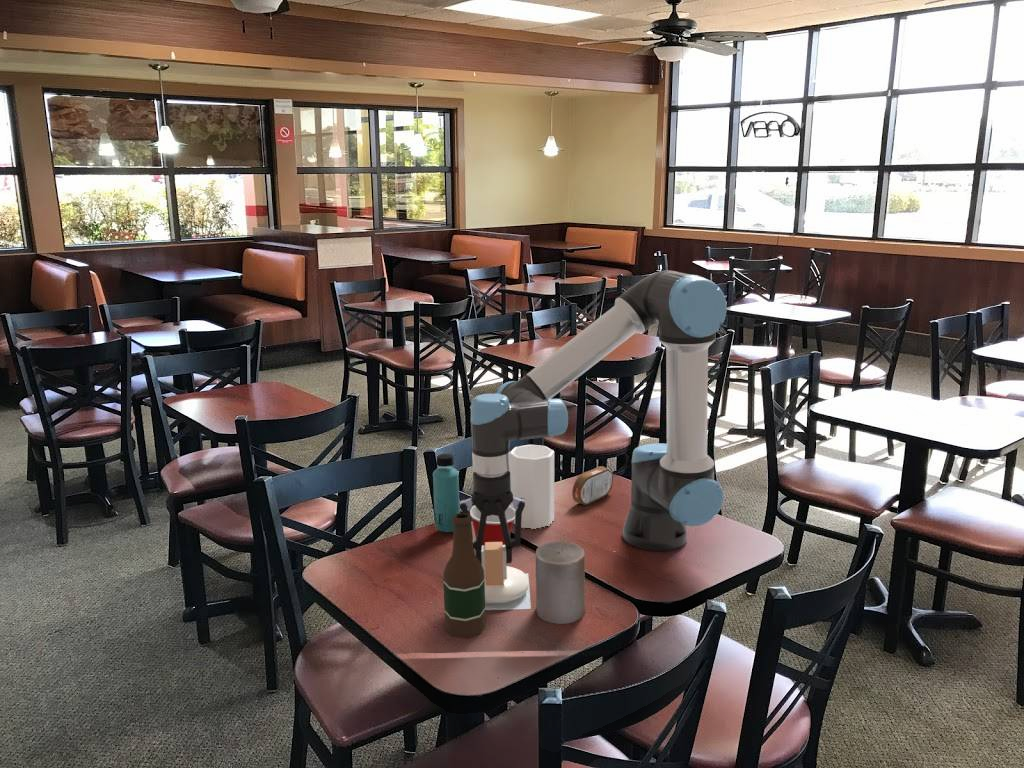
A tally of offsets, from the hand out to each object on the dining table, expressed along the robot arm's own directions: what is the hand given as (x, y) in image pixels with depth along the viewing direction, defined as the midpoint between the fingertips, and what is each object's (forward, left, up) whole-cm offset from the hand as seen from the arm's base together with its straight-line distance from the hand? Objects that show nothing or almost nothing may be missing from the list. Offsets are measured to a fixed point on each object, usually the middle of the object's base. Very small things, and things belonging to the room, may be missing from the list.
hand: (494, 576), depth 170 cm
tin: (-26, -50, -4) cm, 57 cm away
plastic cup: (0, -16, -4) cm, 16 cm away
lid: (0, 0, -2) cm, 2 cm away
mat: (0, 0, -4) cm, 4 cm away
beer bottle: (+6, +14, -4) cm, 16 cm away
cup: (-9, -37, -4) cm, 38 cm away
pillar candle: (-13, +9, -4) cm, 16 cm away
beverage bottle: (+12, -31, -4) cm, 33 cm away
